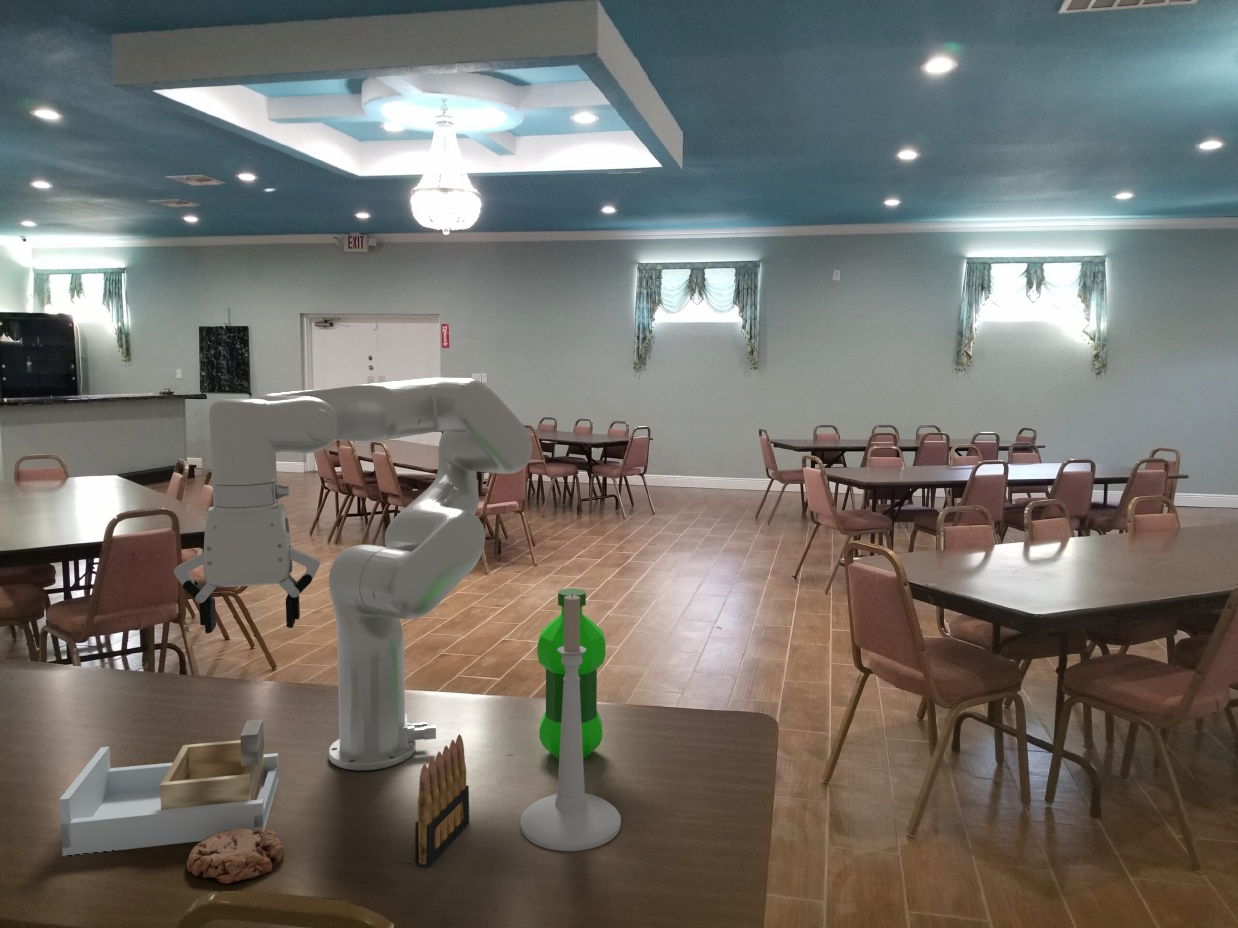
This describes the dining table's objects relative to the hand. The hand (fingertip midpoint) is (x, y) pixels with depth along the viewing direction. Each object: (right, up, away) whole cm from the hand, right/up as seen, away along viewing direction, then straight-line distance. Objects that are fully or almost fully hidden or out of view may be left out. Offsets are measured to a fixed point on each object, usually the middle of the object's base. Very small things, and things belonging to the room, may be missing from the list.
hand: (251, 627), depth 111 cm
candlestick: (+41, -25, -1) cm, 48 cm away
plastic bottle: (+40, -23, +19) cm, 50 cm away
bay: (-9, -24, 0) cm, 26 cm away
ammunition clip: (+26, -25, -6) cm, 37 cm away
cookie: (+3, -26, -10) cm, 28 cm away
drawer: (-5, -23, +1) cm, 23 cm away
